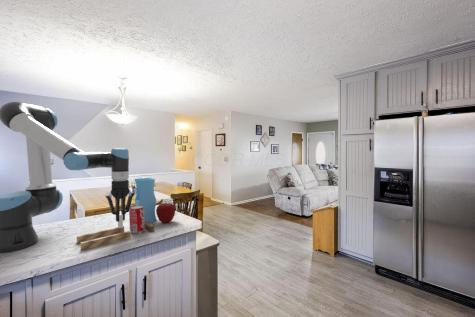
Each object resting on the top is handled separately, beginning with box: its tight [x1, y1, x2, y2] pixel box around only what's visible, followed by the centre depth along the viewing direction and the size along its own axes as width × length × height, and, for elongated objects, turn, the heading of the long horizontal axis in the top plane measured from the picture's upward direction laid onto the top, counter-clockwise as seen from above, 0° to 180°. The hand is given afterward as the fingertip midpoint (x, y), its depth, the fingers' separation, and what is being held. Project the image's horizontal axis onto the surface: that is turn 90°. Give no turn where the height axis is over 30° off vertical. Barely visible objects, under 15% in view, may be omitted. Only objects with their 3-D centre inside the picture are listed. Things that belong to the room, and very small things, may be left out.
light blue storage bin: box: [134, 177, 157, 223], centre depth 136 cm, size 10×10×25 cm
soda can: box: [128, 205, 146, 235], centre depth 117 cm, size 7×7×13 cm
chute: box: [76, 225, 132, 251], centre depth 106 cm, size 20×12×3 cm, turn 133°
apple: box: [155, 202, 176, 224], centre depth 132 cm, size 11×11×12 cm
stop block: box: [145, 221, 156, 233], centre depth 120 cm, size 2×12×3 cm, turn 43°
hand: (120, 227), depth 111 cm, fingers closed
